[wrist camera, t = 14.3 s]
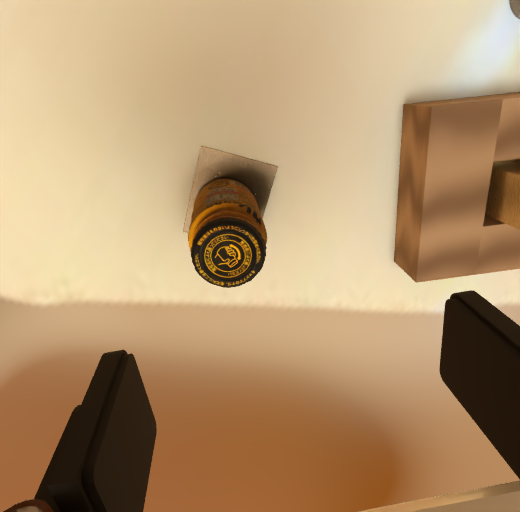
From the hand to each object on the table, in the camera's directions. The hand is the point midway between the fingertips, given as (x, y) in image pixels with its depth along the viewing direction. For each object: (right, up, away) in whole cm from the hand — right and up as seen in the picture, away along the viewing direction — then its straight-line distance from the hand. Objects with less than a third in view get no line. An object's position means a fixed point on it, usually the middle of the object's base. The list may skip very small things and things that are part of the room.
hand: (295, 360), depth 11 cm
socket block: (+22, +11, +28) cm, 37 cm away
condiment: (-4, +9, +26) cm, 28 cm away
